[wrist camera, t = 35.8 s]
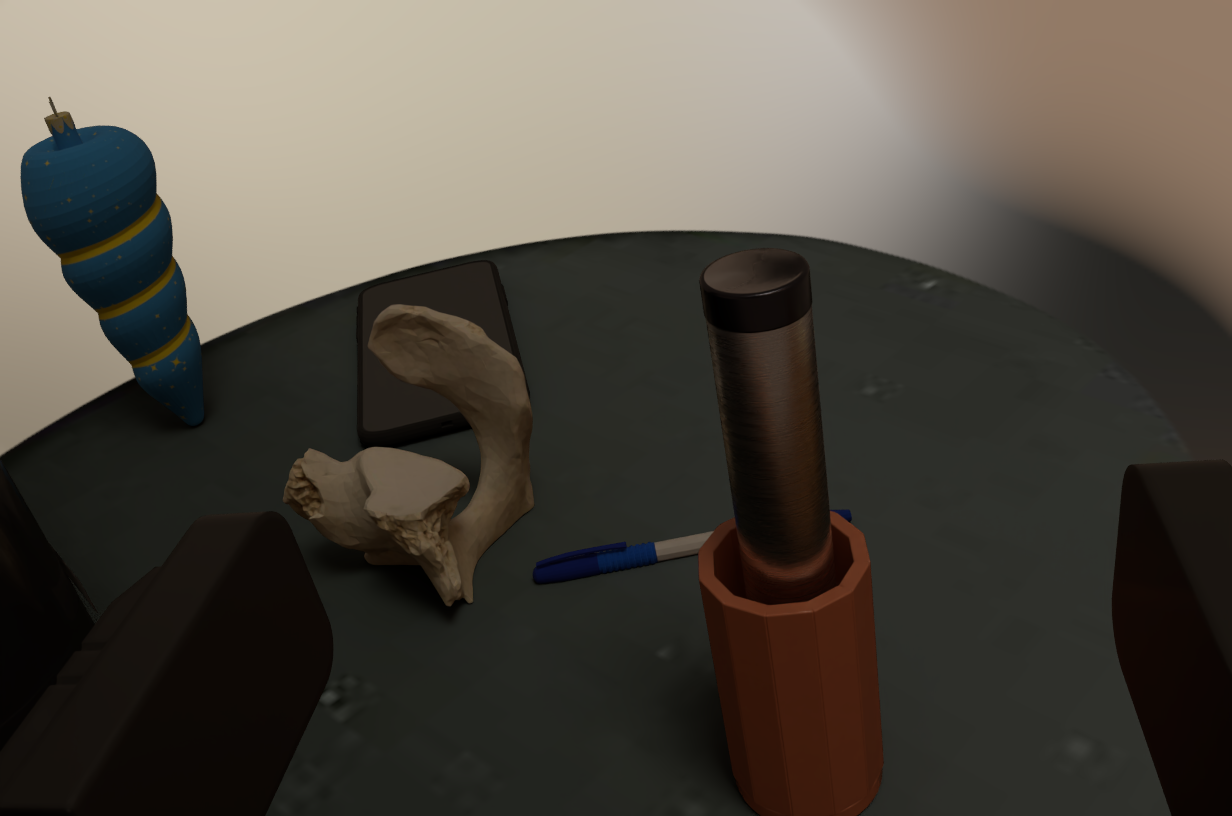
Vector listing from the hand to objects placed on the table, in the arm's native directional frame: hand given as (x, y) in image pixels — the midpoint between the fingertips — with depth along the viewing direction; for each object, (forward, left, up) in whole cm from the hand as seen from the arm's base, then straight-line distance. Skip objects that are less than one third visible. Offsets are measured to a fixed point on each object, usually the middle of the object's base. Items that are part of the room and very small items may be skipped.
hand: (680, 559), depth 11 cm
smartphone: (+6, +38, -16) cm, 41 cm away
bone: (+1, +23, -16) cm, 28 cm away
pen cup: (+6, +9, -16) cm, 19 cm away
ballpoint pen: (+8, +18, -16) cm, 26 cm away
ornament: (-5, +40, -16) cm, 43 cm away
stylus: (+6, +8, -15) cm, 19 cm away
